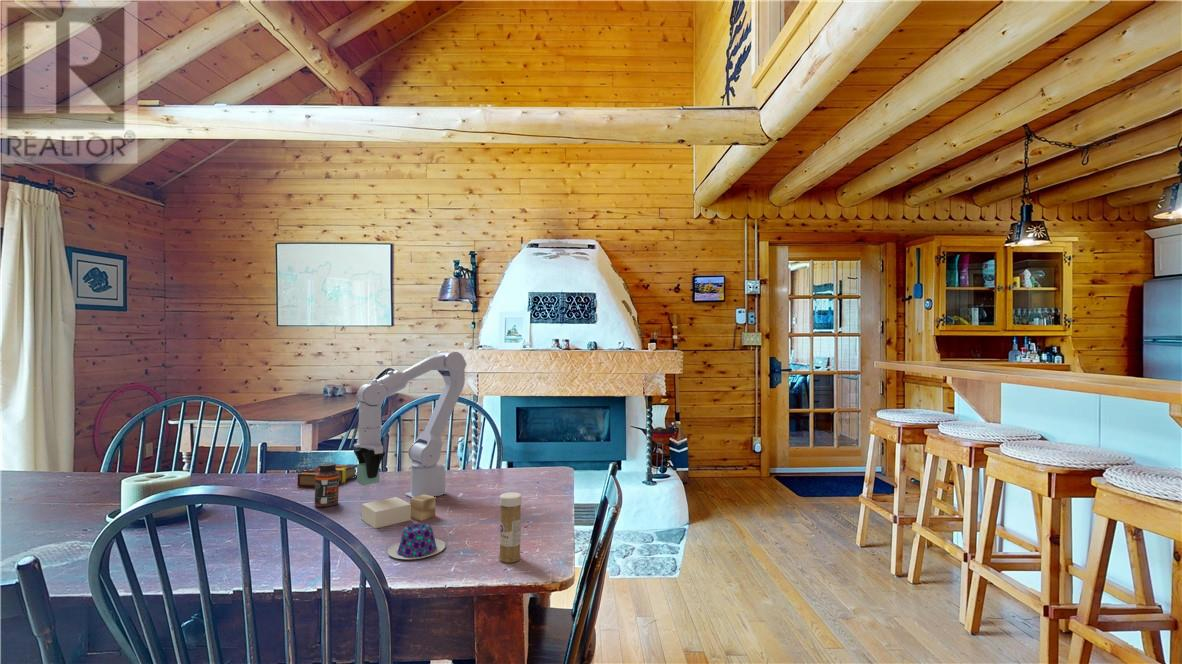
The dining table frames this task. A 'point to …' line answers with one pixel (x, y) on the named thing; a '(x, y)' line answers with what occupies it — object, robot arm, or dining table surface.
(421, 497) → the oak block
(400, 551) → the purple patterned hat
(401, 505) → the base slab
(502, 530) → the sprinkles bottle
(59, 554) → the dining table surface
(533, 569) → the dining table surface
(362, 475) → the teal block
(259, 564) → the dining table surface
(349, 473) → the decorative book
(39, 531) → the dining table surface
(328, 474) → the supplement bottle
